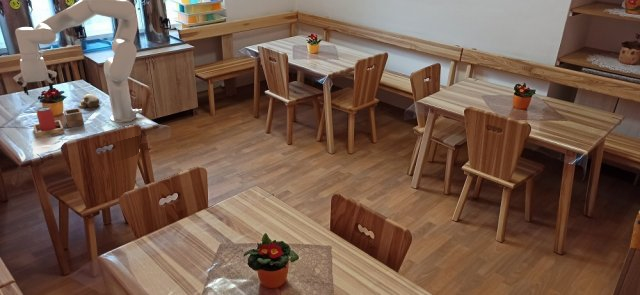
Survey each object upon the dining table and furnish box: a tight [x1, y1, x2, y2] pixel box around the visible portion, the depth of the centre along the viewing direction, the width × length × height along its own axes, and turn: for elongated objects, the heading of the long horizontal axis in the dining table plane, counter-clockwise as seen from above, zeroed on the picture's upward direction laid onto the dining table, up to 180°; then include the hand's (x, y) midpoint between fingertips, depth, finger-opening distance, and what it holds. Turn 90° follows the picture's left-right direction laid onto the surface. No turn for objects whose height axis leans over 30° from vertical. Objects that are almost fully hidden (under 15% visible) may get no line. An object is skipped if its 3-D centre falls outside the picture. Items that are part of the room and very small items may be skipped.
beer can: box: [36, 106, 58, 132], centre depth 228 cm, size 7×7×12 cm
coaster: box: [64, 125, 89, 137], centre depth 231 cm, size 9×9×1 cm
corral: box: [32, 119, 65, 139], centre depth 230 cm, size 12×12×3 cm
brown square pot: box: [63, 107, 85, 128], centre depth 238 cm, size 7×7×7 cm
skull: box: [77, 93, 100, 110], centre depth 261 cm, size 12×10×10 cm
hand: (39, 92), depth 222 cm, fingers open, 9 cm apart
